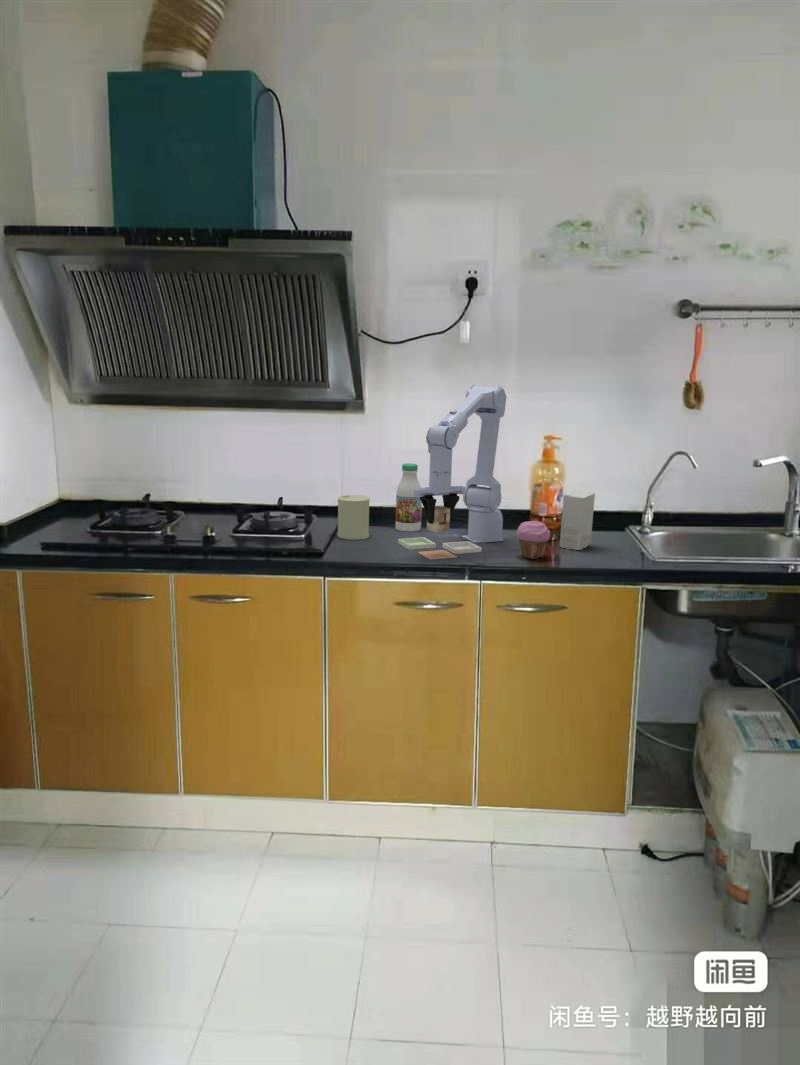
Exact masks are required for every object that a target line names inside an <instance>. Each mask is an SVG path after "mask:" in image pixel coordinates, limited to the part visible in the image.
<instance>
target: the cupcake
mask: <svg viewBox="0 0 800 1065" xmlns="http://www.w3.org/2000/svg"><path fill="white" fill-rule="evenodd" d="M515 536H516V538H517V539H518V542H519V546H520V551H521V555H522V557H524V558H528V559H530V560H535V559H539V557H541V558H543V557H544V556H545V550H546V546H547V543H548V541H549V540H550V538H551V531H550V529H549V528H548V527H547V525H546V524H545V523H543V522H541V521H536V520H529V521H523V522H521V523H520V524H519V525H518V527H517V530H516V535H515Z"/></svg>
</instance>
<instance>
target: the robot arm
mask: <svg viewBox="0 0 800 1065" xmlns="http://www.w3.org/2000/svg"><path fill="white" fill-rule="evenodd" d="M506 403H507V394H506V392H505V389H504V387H502V386H485V385H475V384H471V385H470V386H469V387H468V388H467V389H466V392H465V399H464V400H463V401H462V403H461V405H460V406H459V407H458V408H457V409H451V410H449V412H448V413H447V414H446V415H445V417H444V418H442V420H440V422H439V423H438V424H433V425H432V426H430V427H429V428H428V430H427V432H426V436H425V441H426V444H427V452H428V453H429V476H428V477H429V478H428V481H429V482H428V486H427V487H421V488H420V489H414V497H417V498H419V497H420V500H421V502H422V507H423V509H424V512H425V517H426V523H427V522H428V523H430V524H433V522H434V510H435V506H437V505H436V504H437V499H436V498H435V497H436V496H437V497H438V496H441V497H442V503H443V506H444V507H447V508H450V520H451V519H452V516H453V512H454V510H455V508H456V506H457V504H458V502H459V500H460V495H462V499H463V500H462V502H463V503H464V505H465V506H466V510H468V524H467V525H468V526H467V527H468V528H467V535H465V534H464V535H462V538H464V539H466V540H468V541H469V542H471V543H473V544H476V543H493V542H494V543H495V542H503V541H504V539H503V526H504V525H503V522H504V518H503V514H502V512H501V510H500V509H499V507H500V505H501V503H502V492H501V491H502V490H501V489H502V485H501V483H500V481H498V480H497V479H496V478H495V477H494V471H495V464H496V462H495V461H496V454H497V446H498V445H497V444H498V437H499V430H500V423H501V422H500V421H501V418H503V417H504V416H505V410H506V406H507V405H506ZM473 414H474V415H476V416H478V417H479V418H480V420H481V422H480V424H481V425H480V433H479V434H480V435H479V440H478V441H479V442H478V449H477V457H476V463H475V464H476V465H475V466H476V467H475V471H474V472H475V473H474V475H473V476H471V477H470V478H469V479H467V480H466V484H465V486H463V485H456V486H454V485H452V465H453V464H452V463H453V461H452V460H453V448H455V446H456V445H457V442H458V439H459V436H460V434H461V432H462V431H463V430H464V429H465V428H466V427H467V425H468V421H469V418H470V417H471V416H472V415H473Z"/></svg>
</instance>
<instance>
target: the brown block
mask: <svg viewBox="0 0 800 1065" xmlns="http://www.w3.org/2000/svg"><path fill="white" fill-rule="evenodd" d="M450 522H451V519H450V508H447V507H444V505H435V510H434V522H433V524H430V523H428V522H427V521H426V530H429V531H431V532H433V533H440V532H450Z"/></svg>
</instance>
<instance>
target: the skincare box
mask: <svg viewBox="0 0 800 1065" xmlns="http://www.w3.org/2000/svg"><path fill="white" fill-rule="evenodd" d="M562 498H563V499H562V500H563V501H562V509H561V510H562V513H561V514H562V515H561V524H560V535H559V536H560V538H559V548H560V547H564V548H571V549H577V550H581V549H583V548H585V547H587V546H588V545H590V544H591V545H592V532H593V531H592V530H593V521H594V520H593V519H594V510H595V509H594V508H595V498H596V493H595V492H591V491H583V490H578V489H577V490H576V489H575V490H573V491H570V492H568V493H564V494H563V497H562ZM587 548H588V547H587ZM585 549H586V548H585ZM583 550H584V549H583ZM581 551H582V550H581Z"/></svg>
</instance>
